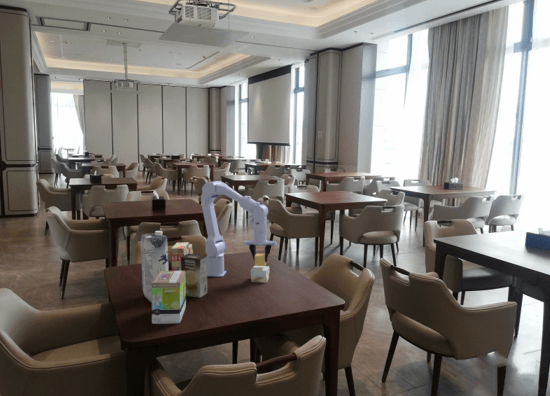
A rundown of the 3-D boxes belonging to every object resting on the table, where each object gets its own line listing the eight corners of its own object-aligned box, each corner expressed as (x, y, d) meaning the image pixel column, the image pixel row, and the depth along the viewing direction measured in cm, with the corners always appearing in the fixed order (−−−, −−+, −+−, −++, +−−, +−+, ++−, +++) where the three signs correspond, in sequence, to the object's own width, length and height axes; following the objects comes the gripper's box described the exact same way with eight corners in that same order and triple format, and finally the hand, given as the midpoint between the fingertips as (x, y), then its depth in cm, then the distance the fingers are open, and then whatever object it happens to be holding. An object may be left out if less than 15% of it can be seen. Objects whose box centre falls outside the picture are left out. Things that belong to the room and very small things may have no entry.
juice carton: (148, 303, 168) (146, 235, 164) (141, 296, 176) (138, 230, 173) (171, 299, 172) (169, 232, 169) (162, 292, 181) (160, 228, 178)
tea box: (181, 323, 149) (180, 281, 147) (151, 324, 148) (149, 282, 147) (186, 307, 164) (185, 269, 162) (159, 308, 163) (158, 270, 161)
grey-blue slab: (250, 276, 194) (250, 269, 194) (254, 271, 201) (254, 265, 201) (266, 277, 193) (266, 270, 193) (269, 272, 200) (269, 266, 199)
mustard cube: (254, 265, 195) (254, 256, 194) (256, 263, 199) (256, 253, 198) (264, 266, 194) (264, 256, 193) (266, 263, 198) (266, 253, 198)
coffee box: (180, 295, 177) (179, 256, 175) (188, 290, 183) (187, 253, 181) (200, 298, 174) (199, 258, 172) (208, 292, 180) (207, 255, 178)
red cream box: (181, 261, 230) (180, 238, 228) (193, 261, 230) (192, 238, 228) (171, 273, 209) (170, 247, 207) (184, 273, 208) (183, 247, 207)
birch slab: (251, 282, 194) (251, 276, 194) (253, 278, 201) (253, 271, 201) (266, 283, 194) (266, 277, 193) (268, 278, 201) (268, 272, 200)
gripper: (242, 233, 192) (242, 263, 193) (275, 233, 190) (275, 264, 192) (245, 230, 199) (245, 259, 200) (277, 230, 197) (277, 260, 199)
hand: (260, 261), depth 196 cm, fingers closed on mustard cube, 4 cm apart
